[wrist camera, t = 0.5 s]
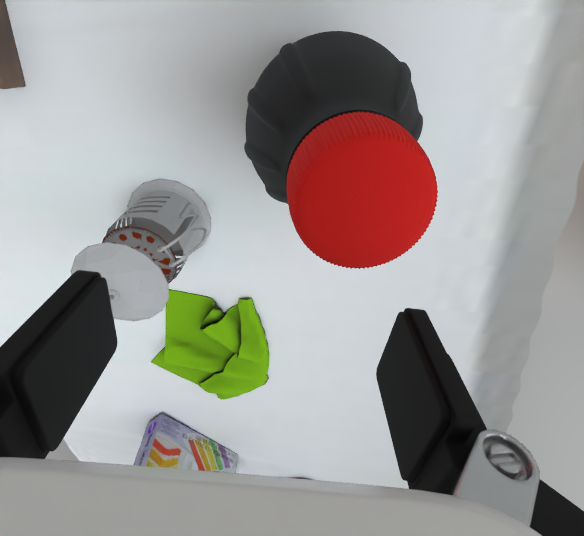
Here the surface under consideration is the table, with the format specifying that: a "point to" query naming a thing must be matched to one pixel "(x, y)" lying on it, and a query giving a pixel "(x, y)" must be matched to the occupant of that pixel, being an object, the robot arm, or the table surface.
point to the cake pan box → (182, 449)
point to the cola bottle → (343, 147)
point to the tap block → (8, 54)
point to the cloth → (214, 345)
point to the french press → (148, 247)
